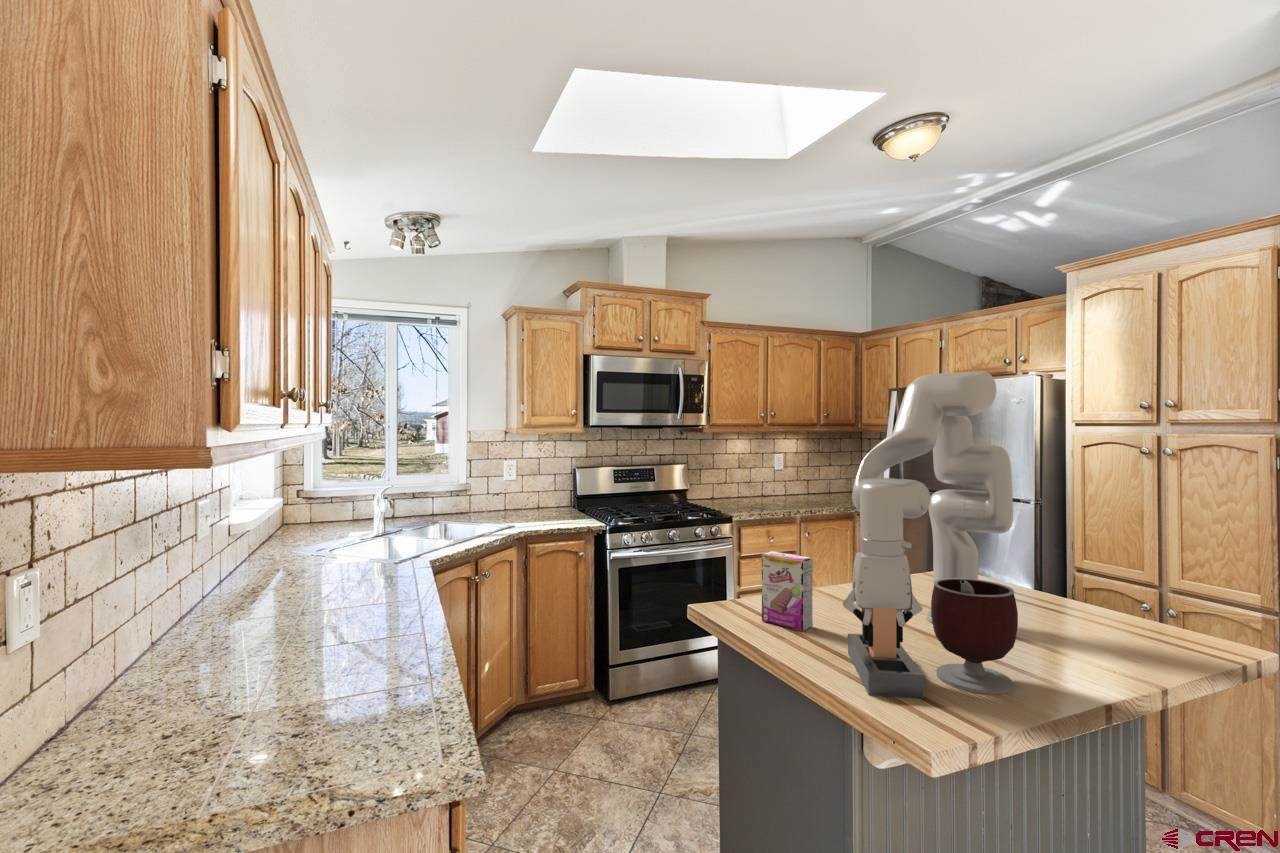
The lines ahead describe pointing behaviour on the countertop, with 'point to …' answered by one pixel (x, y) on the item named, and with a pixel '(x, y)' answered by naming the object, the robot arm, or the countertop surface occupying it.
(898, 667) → the rail
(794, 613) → the candy bar box
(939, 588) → the mate gourd
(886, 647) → the square peg
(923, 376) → the robot arm
